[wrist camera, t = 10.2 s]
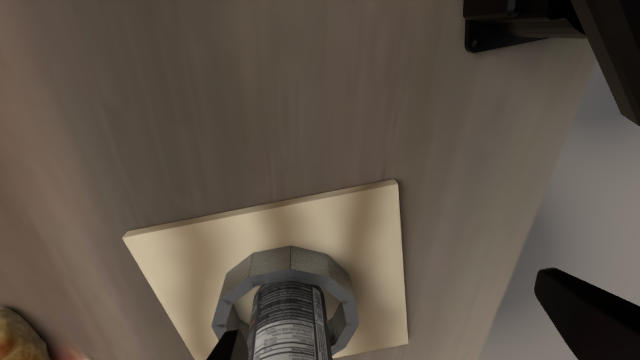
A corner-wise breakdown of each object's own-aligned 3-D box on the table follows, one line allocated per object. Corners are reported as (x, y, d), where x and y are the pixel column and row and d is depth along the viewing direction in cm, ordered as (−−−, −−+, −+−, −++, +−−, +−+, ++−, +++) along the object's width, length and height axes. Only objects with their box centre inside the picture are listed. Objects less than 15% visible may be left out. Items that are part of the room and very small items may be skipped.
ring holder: (394, 179, 22) (410, 201, 19) (405, 336, 30) (417, 369, 27) (127, 231, 22) (101, 262, 19) (210, 373, 30) (201, 411, 27)
